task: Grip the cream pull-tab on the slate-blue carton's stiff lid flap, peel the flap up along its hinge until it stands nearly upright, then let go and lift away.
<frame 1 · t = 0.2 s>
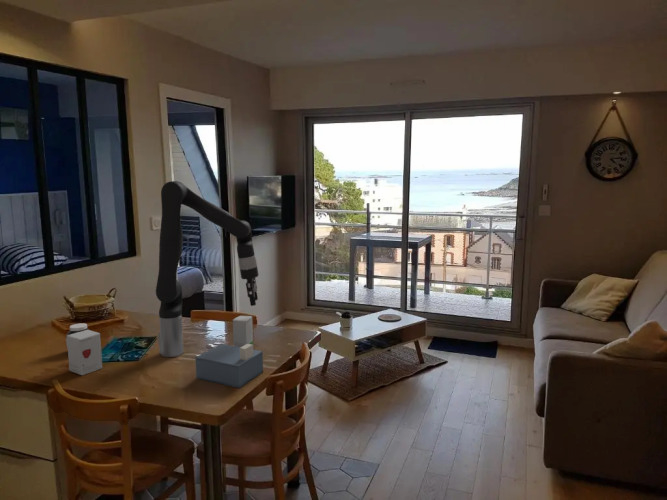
hand: (254, 302, 207), 23 cm above the table, tool pointing down, fingers open, 8 cm apart
supplement box: (86, 370, 191), on the table
skincare box: (243, 352, 211), on the table
carton: (230, 375, 186), on the table
spread jar: (80, 352, 210), on the table
carton flap: (229, 349, 185), point 11 cm above the table, hinge at 0.0°
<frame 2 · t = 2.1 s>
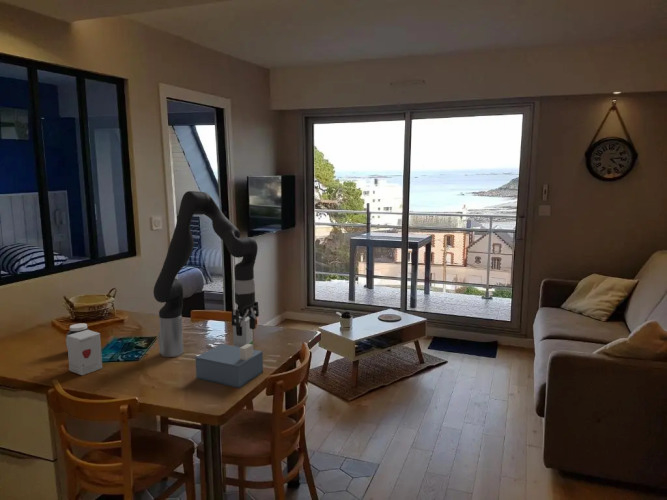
hand: (246, 332, 180), 19 cm above the table, tool pointing down, fingers open, 8 cm apart
nothing on the table moved.
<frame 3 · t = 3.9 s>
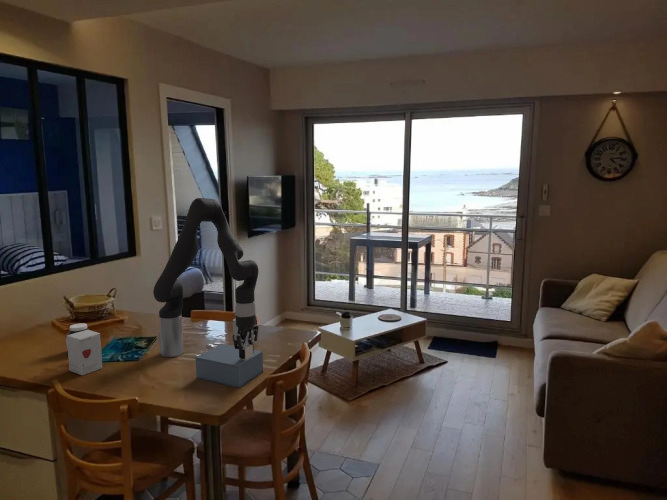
hand: (246, 355, 182), 9 cm above the table, tool pointing down, fingers closed on carton flap, 5 cm apart
carton flap: (229, 349, 185), point 11 cm above the table, hinge at 0.0°, touching gripper
everything else where it was.
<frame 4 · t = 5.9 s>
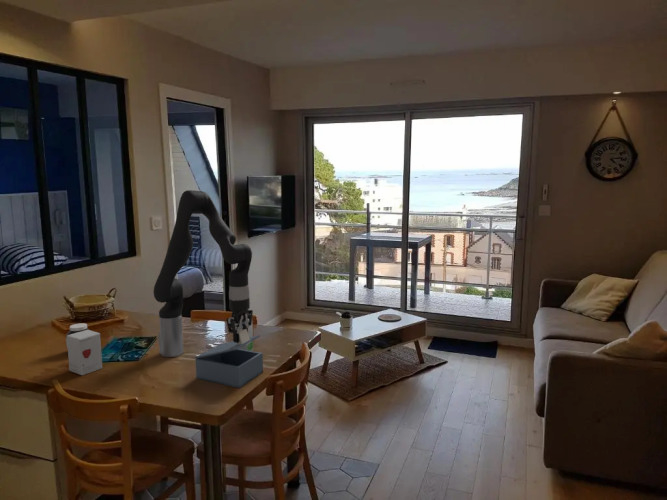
hand: (240, 339, 182), 15 cm above the table, tool pointing down, fingers closed on carton flap, 5 cm apart
carton flap: (226, 341, 185), point 14 cm above the table, hinge at 19.2°, touching gripper
everything else where it was.
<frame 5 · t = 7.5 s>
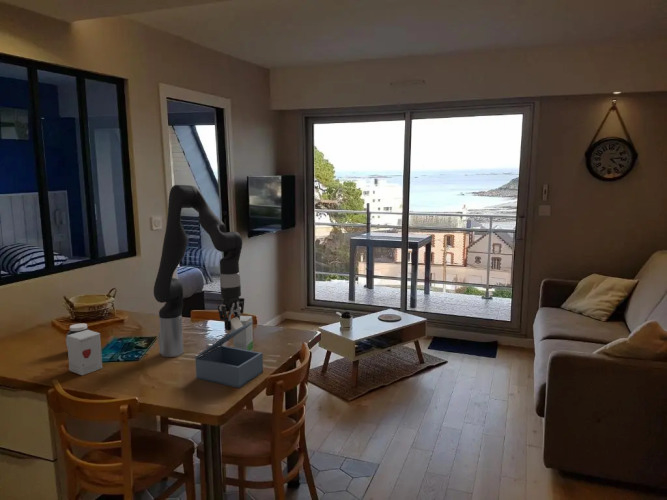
hand: (232, 327, 182), 20 cm above the table, tool pointing down, fingers closed on carton flap, 5 cm apart
carton flap: (221, 334, 185), point 16 cm above the table, hinge at 36.4°, touching gripper
everything else where it was.
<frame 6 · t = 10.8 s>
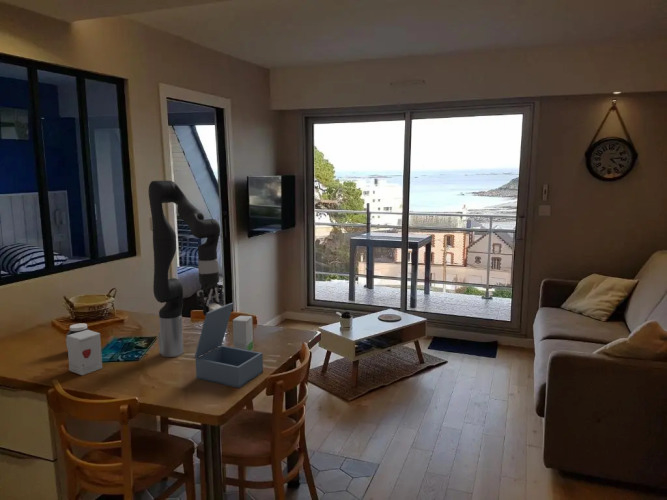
hand: (211, 313, 186), 24 cm above the table, tool pointing down, fingers closed on carton flap, 5 cm apart
carton flap: (210, 327, 187), point 18 cm above the table, hinge at 70.2°, touching gripper
everything else where it was.
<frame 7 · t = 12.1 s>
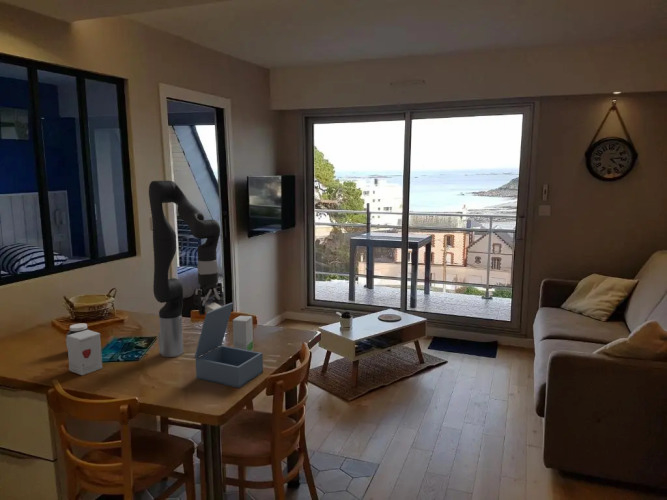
hand: (209, 311, 186), 25 cm above the table, tool pointing down, fingers open, 8 cm apart
carton flap: (210, 327, 187), point 18 cm above the table, hinge at 70.4°
everything else where it was.
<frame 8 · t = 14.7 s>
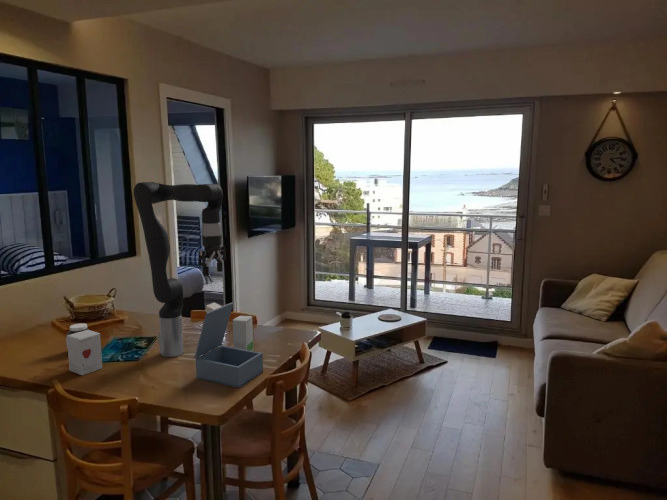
hand: (213, 273, 193), 38 cm above the table, tool pointing down, fingers open, 8 cm apart
nothing on the table moved.
at the end: carton flap at +70° (first picture: +0°); the gripper is holding nothing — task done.
